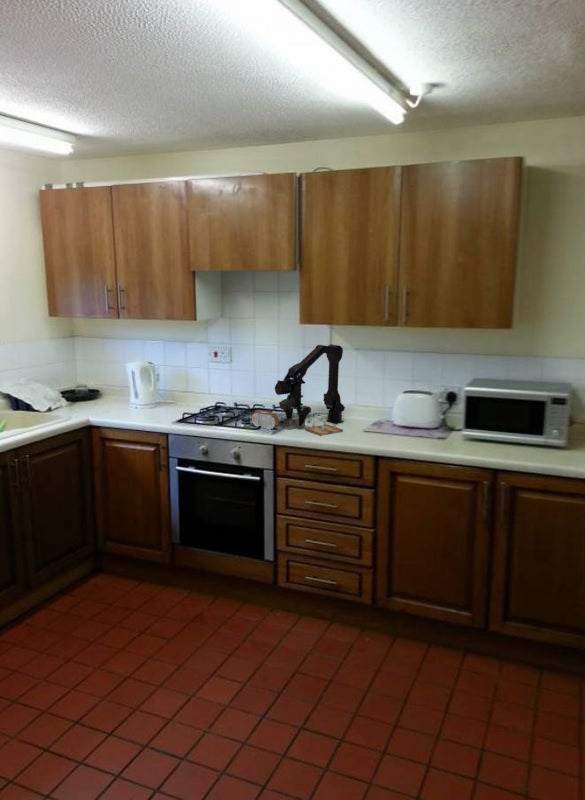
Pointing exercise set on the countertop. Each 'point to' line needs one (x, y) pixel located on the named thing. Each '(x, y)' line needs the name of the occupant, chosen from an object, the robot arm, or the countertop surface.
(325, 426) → the pin tray
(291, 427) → the drive
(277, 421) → the tin
